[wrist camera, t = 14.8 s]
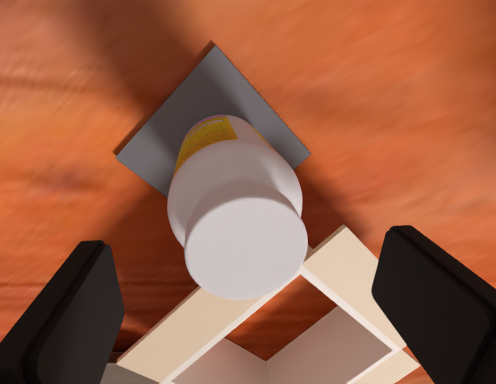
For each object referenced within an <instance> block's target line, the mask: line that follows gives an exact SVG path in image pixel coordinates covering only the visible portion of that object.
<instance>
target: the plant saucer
mask: <svg viewBox="0 0 496 384" xmlns="http://www.w3.org/2000/svg"><path fill="white" fill-rule="evenodd" d="M124 353H125V352H111V354H110V357H109V360H108V363H107V365H106V368H105V371H104V374H103V376H102V379H101V382H100V384H154V383H155V382H156V381H154V380H152V379H150V378H147V377H145V376H143V375H140V374H138V373H136V372H133V371H131V370H129V369H126V368H124V367H122V366H119V365H117V364H116V363H117V359H118V358H119V357H120V356H121V355H123V354H124Z"/></svg>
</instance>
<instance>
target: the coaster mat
mask: <svg viewBox="0 0 496 384" xmlns="http://www.w3.org/2000/svg"><path fill="white" fill-rule="evenodd" d="M215 115H231V116H235V117H238V118H241V119H243V120H244V121H246V122H248V123H249V124H250V125H252V126H253V127H254V128H255V129H256V130H257V131H258V132H259V133H260V134H261V135H262V136H263V138H264V139H265V140H266V141H267V142H268V143H269V144H270V145H271V146H272V147H273V148H274V149H275V150H276V151H277V152H278V153H279V154H280V155H281V156H282V157H283V159H284V160H285V161H286V162H287V163H288V164H289V165H290V167H291V168H292V169H293V170H294V169H295V168H296V167H297V166H298V165H300V164H301V163H302V162H303V161H304V160H305V159H306V158H307V157H308V156H309V155H310V154H311V153H310V152H309V151H308V150H307V149H306V147H305V146H304V145H303V144H302V143H301V142H300V141H299V139H298V138H297V137H296V136H295V135H294V134H293V133H292V131H291V130H290V129H289V128H288V127H287V126H286V125H285V123H284V122H283V121H282V120H281V119H280V118H279V117H278V116H277V114H276V113H275V112H274V111H273V110H272V109H271V108H270V106H269V105H268V104H267V103H266V102H265V101H264V100H263V98H262V97H261V96H260V95H259V94H258V93H257V92H256V90H255V89H254V88H253V87H252V86H251V85H250V84H249V83H248V81H247V80H246V79H245V78H244V77H243V76H242V75H241V73H240V72H239V71H238V70H237V69H236V68H235V67H234V65H233V64H232V63H231V62H230V61H229V60H228V59H227V57H226V56H225V55H224V54H223V53H222V52H221V51H220V50H219V48H218V47H217V46H216V45H215V46H214V47H213V49H212V50H211V51H210V52H209V53H208V54H207V55H206V56H205V58H204V59H203V60H202V61H201V62H200V63H199V64H198V65H197V66H196V68H195V69H194V70H193V71H192V72H191V73H190V74H189V75H188V77H187V78H186V79H185V80H184V81H183V82H182V83H181V84H180V85H179V87H178V88H177V89H176V90H175V91H174V92H173V93H172V94H171V96H170V97H169V98H168V99H167V100H166V101H165V102H164V103H163V104H162V106H161V107H160V108H159V109H158V110H157V111H156V112H155V113H154V115H153V116H152V117H151V118H150V119H149V120H148V121H147V122H146V123H145V125H144V126H143V127H142V128H141V129H140V130H139V131H138V132H137V134H136V135H135V136H134V137H133V138H132V139H131V140H130V141H129V142H128V144H127V145H126V146H125V147H124V148H123V149H122V150H121V151H120V153H119V154H118V155H117V156H116V157H115V158H116V159H117V160H118V161H120V162H121V163H122V164H124V165H125V166H126V167H128V168H129V169H130V170H131V171H133V172H134V173H135V174H137V175H138V176H139V177H141V178H142V179H143V180H145V181H146V182H147V183H149V184H150V185H151V186H152V187H154V188H155V189H156V190H158V191H159V192H160V193H162V194H163V195H164V196H166V197H167V198H168V195H169V190H170V186H171V182H172V179H173V175H174V171H175V167H176V163H177V159H178V156H179V152H180V149H181V145H182V143H183V140H184V138H185V136H186V135H187V133H188V132H189V130H190V129H191V128H192V127H193V126H194V125H196V124H197V123H198V122H200V121H201V120H203V119H205V118H208V117H211V116H215Z"/></svg>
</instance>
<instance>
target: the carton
mask: <svg viewBox="0 0 496 384" xmlns="http://www.w3.org/2000/svg"><path fill="white" fill-rule="evenodd" d="M378 261H379V260H378V259H377V258H376V257H375V256H374V255H373V254H372V253H371V252H370V251H369V250H368V249H367V248H366V247H365V246H364V245H363V243H362V242H361V241H360V240H359V239H358V238H357V237H356V236H355V235H354V234H353V233H352V232H351V231H350V230H349V229H348V228H347V227H346V226H345V225H344V224H343V225H342V226H340V227H339V228H338V229H337V230H336V231H334V232H333V233H332V234H331V235H330V236H328V237H327V238H326V239H325V240H324V241H323V242H321V243H320V244H319V245H318V246H317V247H315V248H314V249H312V248H311V247H310V246H309V245H308V246H307V252H306V256H305V259H304V261H303V264H302V266H301V267H300V269H299V270H298V272H297V273H296V274H295V275H294V277H293V278H292V279H291V280H290V281H288V282H287V283H286V284H285V285H283V286H282V287H281V288H279V289H277V290H276V291H274V292H272V293H270V294H267V295H265V296H261V297H257V298H252V299H244V300H234V299H227V298H222V297H219V296H216V295H214V294H212V293H210V292H208V291H206V290H205V289H203V288H202V287H200V286H198V287H197V288H196V289H195V290H194V291H192V292H191V293H190V294H189V295H188V296H187V297H186V298H185V299H184V300H182V301H181V302H180V303H179V304H178V305H177V306H176V307H175V308H174V309H172V310H171V311H170V312H169V313H168V314H167V315H166V316H165V317H164V318H162V319H161V320H160V321H159V322H158V323H157V324H156V325H155V326H154V327H152V328H151V329H150V330H149V331H148V332H147V333H146V334H145V335H144V336H143V337H141V338H140V339H139V340H138V341H137V342H136V343H135V344H134V345H133V346H131V347H130V348H129V349H128V350H127V351H126V352H125V353H124V354H123V355H121V356H120V357H119V358H118V359H117V363H116V364H117V365H119V366H122V367H124V368H126V369H129V370H131V371H133V372H136V373H138V374H140V375H143V376H145V377H147V378H150V379H152V380H154V381H156V382H155V383H154V384H394V383H395V382H397V381H398V380H400V379H401V378H403V377H404V376H406V375H407V374H409V373H410V372H412V371H413V370H415V369H416V368H418V367H419V366H421V365H420V364H419V363H418V361H416V360H415V359H414V358H413V357H412V356H411V355H409V354H408V353H407V352H406V351H405V350H404V349H403V348H404V347H405V346H407V345H406V343H405V342H404V340H403V339H402V338H401V336H400V335H399V334H398V332H397V331H396V329H395V328H394V327H393V325H392V324H391V322H390V321H389V320H388V318H387V317H386V316H385V314H384V313H383V311H382V310H381V309H380V307H379V306H378V305H377V303H376V302H375V300H374V299H373V297H372V293H371V288H372V284H373V280H374V276H375V273H376V269H377V265H378ZM300 274H301V275H302V276H303V277H305V278H306V279H307V280H308V281H309V282H311V283H312V284H313V285H314V286H315V287H317V288H318V289H319V290H320V291H322V292H323V293H324V294H325V295H326V296H328V297H329V298H330V299H331V300H332V301H334V302H335V303H336V304H337V305H338V306H337V307H335V308H334V309H333V310H332V311H330V312H329V313H328V314H326V315H325V316H324V317H323V318H321V319H320V320H319V321H317V322H316V323H315V324H314V325H312V326H311V327H310V328H308V329H307V330H306V331H305V332H303V333H302V334H301V335H299V336H298V337H297V338H295V339H294V340H293V341H292V342H290V343H289V344H288V345H286V346H285V347H284V348H283V349H281V350H280V351H279V352H277V353H276V354H275V355H274V356H272V357H271V358H270V359H268V360H267V361H265V360H263V359H261V358H259V357H258V356H256V355H254V354H252V353H251V352H249V351H247V350H245V349H244V348H242V347H240V346H238V345H237V344H235V343H233V342H231V341H230V340H228V339H226V338H224V337H225V336H226V335H227V334H229V333H230V332H231V331H232V330H233V329H235V328H236V327H237V326H238V325H239V324H241V323H242V322H243V321H244V320H246V319H247V318H248V317H249V316H250V315H252V314H253V313H254V312H255V311H256V310H258V309H259V308H260V307H261V306H262V305H264V304H265V303H266V302H267V301H268V300H270V299H271V298H272V297H273V296H274V295H276V294H277V293H278V292H279V291H280V290H282V289H283V288H284V287H285V286H287V285H288V284H289V283H290V282H291V281H293V280H294V279H295V278H296V277H297V276H299V275H300Z"/></svg>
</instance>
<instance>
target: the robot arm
mask: <svg viewBox="0 0 496 384" xmlns="http://www.w3.org/2000/svg"><path fill="white" fill-rule="evenodd" d="M371 293H372V297H373V299H374V300H375V302H376V303H377V305H378V306H379V307H380V309H381V310H382V311H383V313H384V314H385V316H386V317H387V318H388V320H389V321H390V322H391V324H392V325H393V327H394V328H395V329H396V331H397V332H398V334H399V335H400V336H401V338H402V339H403V340H404V342H405V343H406V345H407V346H408V347H409V349H410V350H411V351H412V353H413V354H414V356H415V357H416V358H417V360H418V361H419V363H420V364H421V365H422V367H423V368H424V369H425V371H426V372H427V374H428V375H429V376H430V378H431V379H432V380H433V382H434V383H435V384H496V289H495V288H494V287H492V286H491V285H490V284H488V283H487V282H486V281H484V280H483V279H482V278H480V277H479V276H478V275H476V274H475V273H474V272H472V271H471V270H470V269H468V268H467V267H466V266H464V265H463V264H462V263H460V262H459V261H458V260H456V259H455V258H454V257H452V256H451V255H450V254H448V253H447V252H446V251H444V250H443V249H442V248H440V247H439V246H438V245H436V244H435V243H434V242H432V241H431V240H430V239H428V238H427V237H426V236H424V235H423V234H422V233H420V232H419V231H418V230H416V229H415V228H414V227H412V226H410V225H403V226H393V227H391V228H390V230H389V231H387V232H386V234H385V238H384V242H383V246H382V250H381V253H380V257H379V261H378V265H377V269H376V273H375V276H374V280H373V284H372V288H371ZM123 317H124V306H123V301H122V297H121V292H120V288H119V283H118V278H117V274H116V269H115V264H114V260H113V255H112V251H111V247H110V245H108V244H107V245H105V243H104V242H103V241H102V240H94V241H81V242H80V243H79V244H78V245H77V247H76V248H75V249H74V250H73V252H72V253H71V254H70V255H69V257H68V258H67V259H66V261H65V262H64V263H63V264H62V266H61V267H60V268H59V269H58V271H57V272H56V273H55V274H54V276H53V277H52V278H51V280H50V281H49V282H48V283H47V285H46V286H45V287H44V288H43V290H42V291H41V292H40V293H39V295H38V296H37V297H36V298H35V300H34V301H33V302H32V303H31V305H30V306H29V307H28V308H27V310H26V311H25V312H24V314H23V315H22V316H21V317H20V319H19V320H18V321H17V322H16V324H15V325H14V326H13V327H12V329H11V330H10V331H9V333H8V334H7V335H6V336H5V338H4V339H3V340H2V341H1V343H0V384H100V382H101V379H102V376H103V374H104V371H105V368H106V365H107V363H108V360H109V357H110V354H111V352H112V349H113V346H114V343H115V341H116V338H117V335H118V332H119V329H120V327H121V324H122V321H123Z"/></svg>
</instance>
